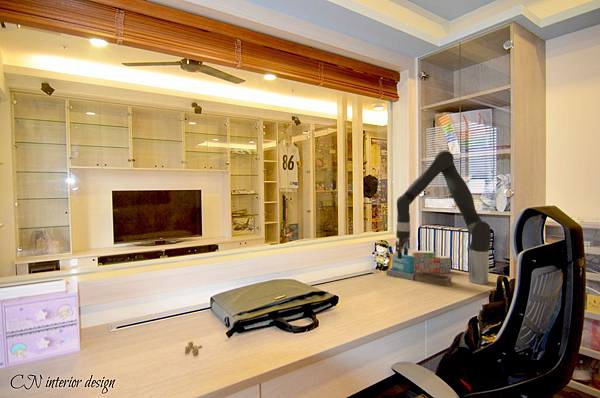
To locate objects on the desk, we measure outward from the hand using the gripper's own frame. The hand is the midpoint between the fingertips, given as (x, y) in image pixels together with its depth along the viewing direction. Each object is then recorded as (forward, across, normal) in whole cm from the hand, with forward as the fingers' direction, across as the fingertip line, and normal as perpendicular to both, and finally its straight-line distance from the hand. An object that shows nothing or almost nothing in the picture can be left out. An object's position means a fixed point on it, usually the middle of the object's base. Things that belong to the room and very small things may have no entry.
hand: (402, 257), depth 183 cm
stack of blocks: (+11, +21, -9) cm, 25 cm away
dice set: (+12, -125, +15) cm, 126 cm away
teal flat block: (+11, 0, 0) cm, 11 cm away
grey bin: (+11, 0, 0) cm, 11 cm away
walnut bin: (+10, 0, -17) cm, 20 cm away
